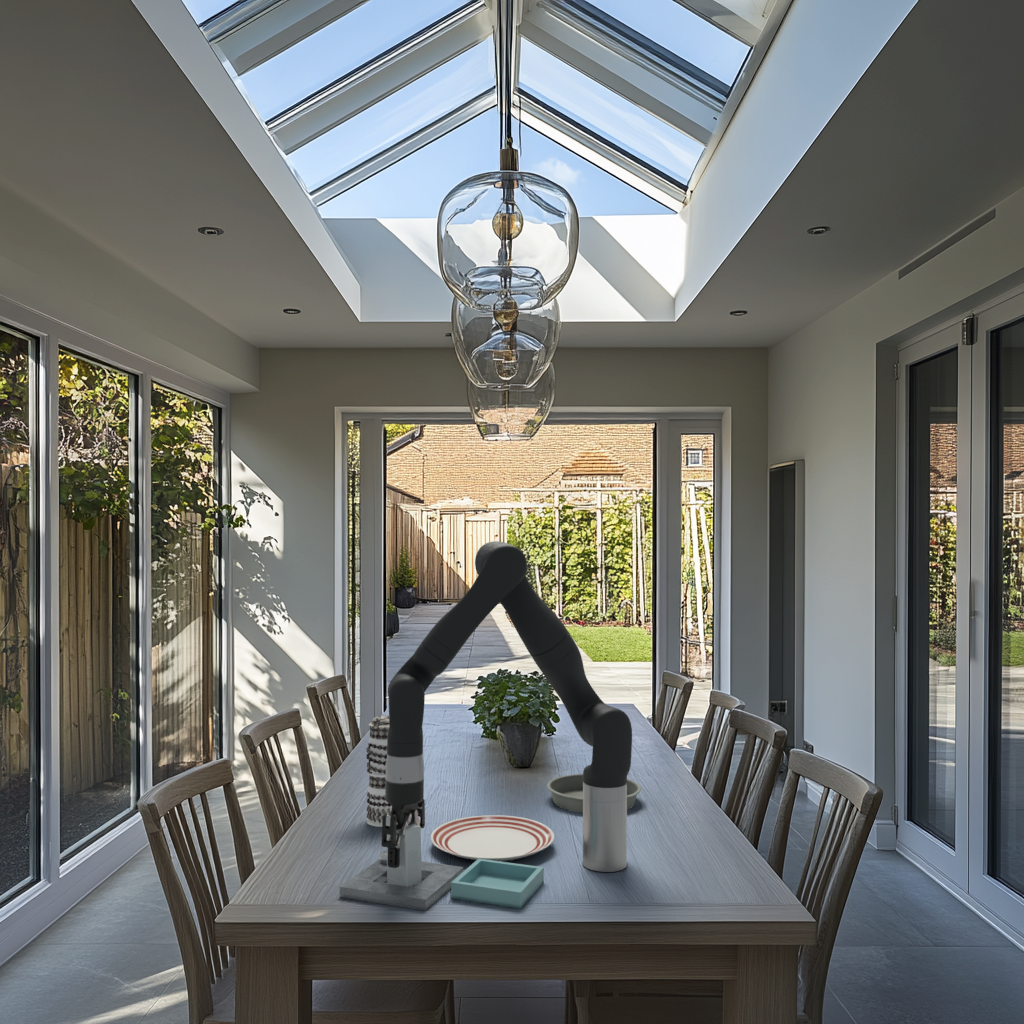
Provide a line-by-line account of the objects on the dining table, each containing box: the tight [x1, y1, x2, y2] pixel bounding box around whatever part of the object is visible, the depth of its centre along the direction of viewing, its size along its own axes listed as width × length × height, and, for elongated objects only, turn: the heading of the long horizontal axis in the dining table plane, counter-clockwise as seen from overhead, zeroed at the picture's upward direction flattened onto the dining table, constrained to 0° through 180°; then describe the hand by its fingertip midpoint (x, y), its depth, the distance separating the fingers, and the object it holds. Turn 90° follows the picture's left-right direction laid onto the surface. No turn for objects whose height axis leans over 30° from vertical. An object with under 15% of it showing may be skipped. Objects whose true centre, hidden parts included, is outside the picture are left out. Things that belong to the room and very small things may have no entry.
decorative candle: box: [366, 715, 392, 828], centre depth 221 cm, size 9×9×25 cm
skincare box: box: [386, 824, 423, 888], centre depth 179 cm, size 6×4×12 cm
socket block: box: [339, 849, 465, 911], centre depth 179 cm, size 18×18×4 cm
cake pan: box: [546, 773, 642, 813], centre depth 239 cm, size 25×25×4 cm
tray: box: [450, 859, 545, 910], centre depth 177 cm, size 14×14×3 cm
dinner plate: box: [430, 814, 555, 862], centre depth 202 cm, size 27×27×3 cm
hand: (403, 859), depth 179 cm, fingers open, 8 cm apart
